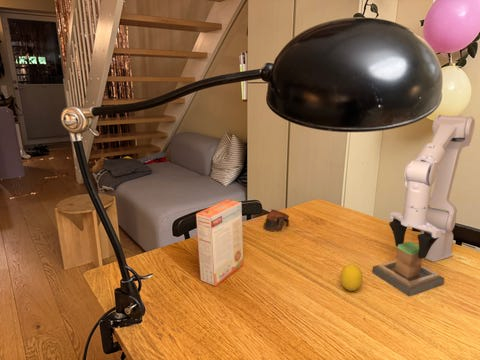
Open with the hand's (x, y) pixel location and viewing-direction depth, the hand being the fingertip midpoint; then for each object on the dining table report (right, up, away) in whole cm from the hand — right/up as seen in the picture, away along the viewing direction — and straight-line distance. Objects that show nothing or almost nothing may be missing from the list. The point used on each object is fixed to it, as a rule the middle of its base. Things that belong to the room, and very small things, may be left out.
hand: (410, 251), depth 96 cm
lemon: (-18, -10, -3) cm, 21 cm away
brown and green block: (0, -6, +2) cm, 7 cm away
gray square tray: (0, -8, +2) cm, 9 cm away
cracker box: (-53, -8, +7) cm, 54 cm away
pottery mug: (-33, +1, +37) cm, 50 cm away
